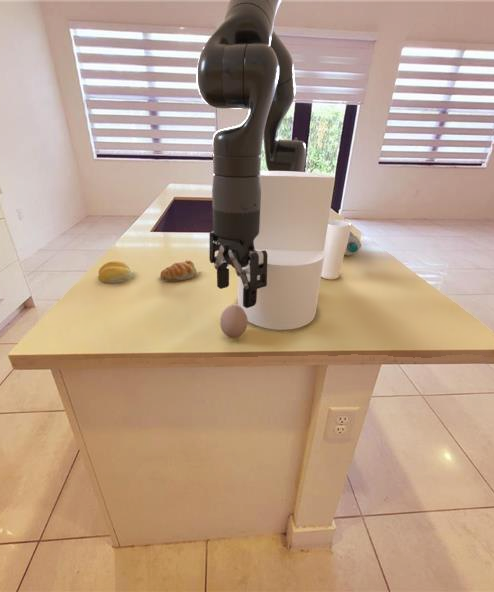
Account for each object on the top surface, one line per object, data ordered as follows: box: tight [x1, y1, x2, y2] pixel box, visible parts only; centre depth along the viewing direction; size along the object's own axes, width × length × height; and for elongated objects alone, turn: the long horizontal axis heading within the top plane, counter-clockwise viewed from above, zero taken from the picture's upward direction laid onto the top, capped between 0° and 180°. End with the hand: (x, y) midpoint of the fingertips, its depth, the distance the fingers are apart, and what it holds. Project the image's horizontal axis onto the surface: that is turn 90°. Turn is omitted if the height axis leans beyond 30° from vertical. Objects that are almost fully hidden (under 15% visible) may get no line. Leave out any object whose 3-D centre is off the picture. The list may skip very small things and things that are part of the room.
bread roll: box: [97, 260, 133, 285], centre depth 82 cm, size 8×9×4 cm
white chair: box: [237, 170, 336, 331], centre depth 64 cm, size 17×17×28 cm
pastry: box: [160, 260, 198, 282], centre depth 83 cm, size 9×7×4 cm
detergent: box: [344, 231, 362, 256], centre depth 108 cm, size 13×7×25 cm
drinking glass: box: [321, 219, 352, 281], centre depth 83 cm, size 7×7×15 cm
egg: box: [219, 303, 248, 339], centre depth 59 cm, size 5×5×7 cm
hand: (235, 296), depth 57 cm, fingers open, 8 cm apart
